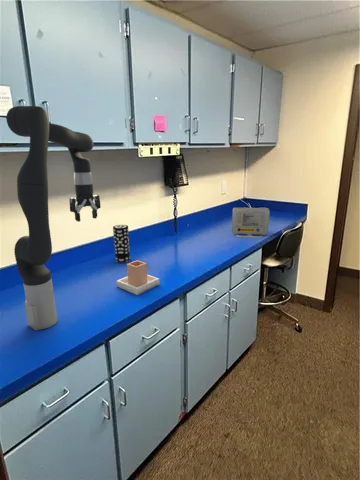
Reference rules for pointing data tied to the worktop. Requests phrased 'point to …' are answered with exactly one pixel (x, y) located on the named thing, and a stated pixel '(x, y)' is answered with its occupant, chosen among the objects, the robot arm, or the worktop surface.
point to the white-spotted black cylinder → (121, 243)
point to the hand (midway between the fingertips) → (86, 219)
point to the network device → (250, 221)
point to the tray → (138, 290)
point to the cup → (137, 273)
